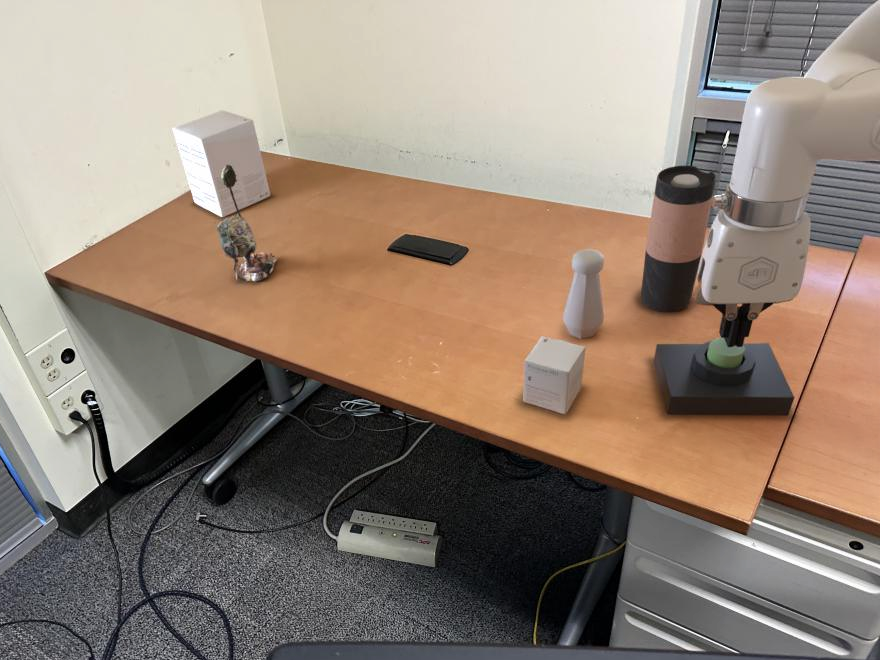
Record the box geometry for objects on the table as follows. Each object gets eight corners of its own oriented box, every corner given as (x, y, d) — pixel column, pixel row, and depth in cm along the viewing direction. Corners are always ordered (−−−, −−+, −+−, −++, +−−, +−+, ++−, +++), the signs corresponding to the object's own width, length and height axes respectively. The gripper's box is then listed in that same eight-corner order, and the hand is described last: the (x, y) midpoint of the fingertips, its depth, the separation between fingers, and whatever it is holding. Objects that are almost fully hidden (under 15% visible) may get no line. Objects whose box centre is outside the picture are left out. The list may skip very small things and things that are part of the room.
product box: (521, 402, 92) (522, 359, 88) (539, 376, 96) (541, 334, 91) (566, 416, 89) (569, 372, 85) (582, 388, 93) (586, 345, 88)
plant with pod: (218, 282, 128) (186, 181, 116) (258, 254, 135) (233, 155, 122) (249, 292, 124) (220, 187, 111) (289, 262, 131) (266, 161, 118)
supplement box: (241, 183, 164) (222, 108, 153) (271, 196, 156) (254, 118, 145) (193, 203, 158) (170, 127, 147) (222, 218, 150) (200, 139, 139)
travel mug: (640, 312, 104) (658, 188, 92) (637, 286, 110) (654, 165, 97) (694, 314, 102) (721, 187, 90) (688, 286, 108) (713, 164, 95)
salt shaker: (607, 324, 103) (616, 247, 95) (596, 345, 100) (604, 267, 91) (568, 316, 106) (574, 241, 98) (556, 337, 102) (561, 260, 94)
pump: (736, 349, 88) (740, 336, 87) (745, 369, 85) (748, 356, 84) (703, 350, 89) (706, 337, 88) (710, 369, 86) (713, 356, 85)
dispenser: (763, 360, 93) (772, 330, 89) (788, 415, 84) (799, 384, 81) (653, 361, 95) (658, 331, 92) (667, 414, 87) (673, 384, 84)
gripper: (697, 223, 72) (673, 360, 84) (856, 215, 69) (808, 358, 81) (683, 192, 78) (662, 324, 89) (830, 183, 75) (789, 321, 86)
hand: (732, 340), depth 85 cm, fingers closed
